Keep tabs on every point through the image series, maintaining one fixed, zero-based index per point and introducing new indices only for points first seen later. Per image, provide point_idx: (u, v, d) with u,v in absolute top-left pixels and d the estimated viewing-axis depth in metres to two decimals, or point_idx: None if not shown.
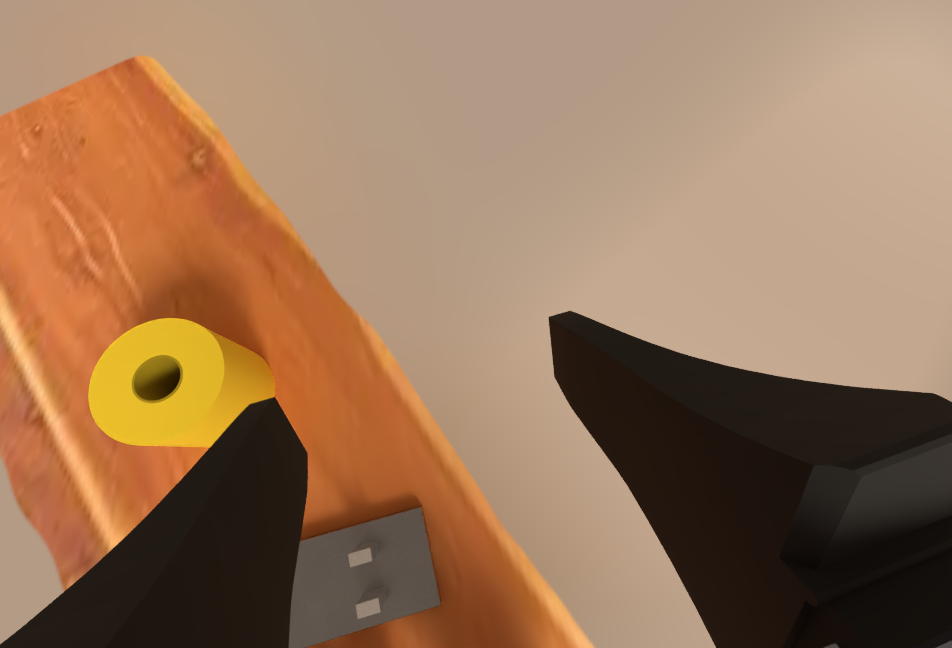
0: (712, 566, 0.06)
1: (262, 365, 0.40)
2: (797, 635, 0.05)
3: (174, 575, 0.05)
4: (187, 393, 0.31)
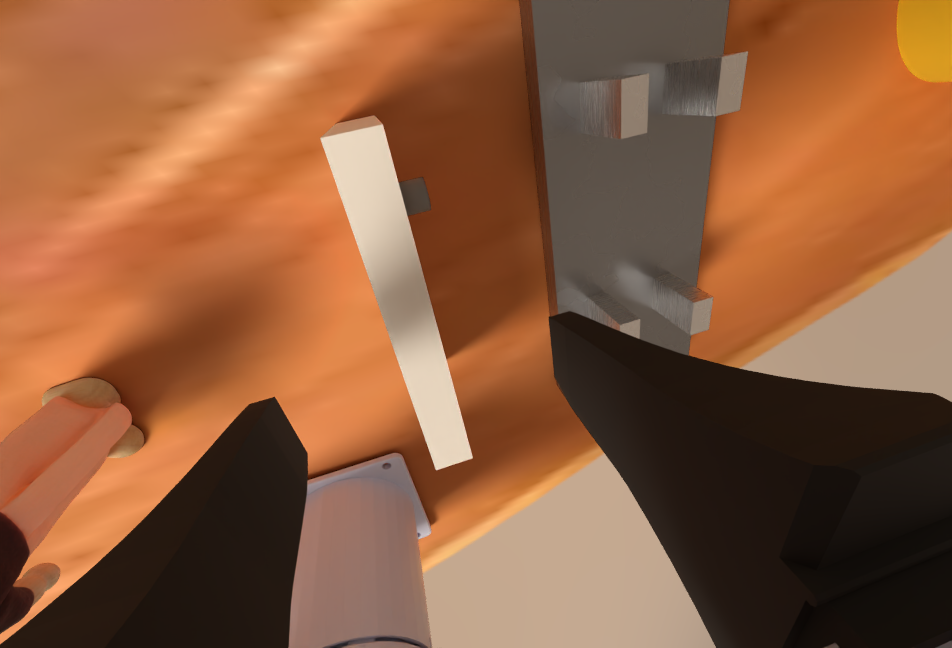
0: (712, 567, 0.06)
1: None
2: (798, 634, 0.05)
3: (174, 575, 0.05)
4: None
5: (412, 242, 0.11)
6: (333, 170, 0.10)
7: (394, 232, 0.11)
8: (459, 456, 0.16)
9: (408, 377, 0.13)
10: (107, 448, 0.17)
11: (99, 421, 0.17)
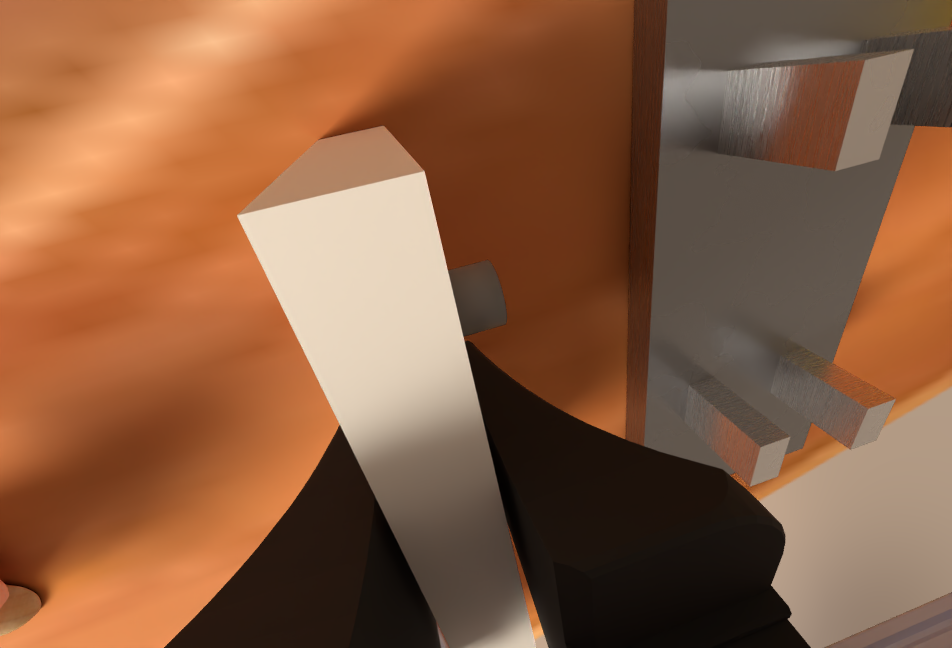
0: (548, 631, 0.06)
1: None
2: None
3: (378, 507, 0.06)
4: None
5: (479, 429, 0.05)
6: (283, 297, 0.04)
7: (440, 416, 0.05)
8: None
9: (452, 632, 0.07)
10: None
11: None
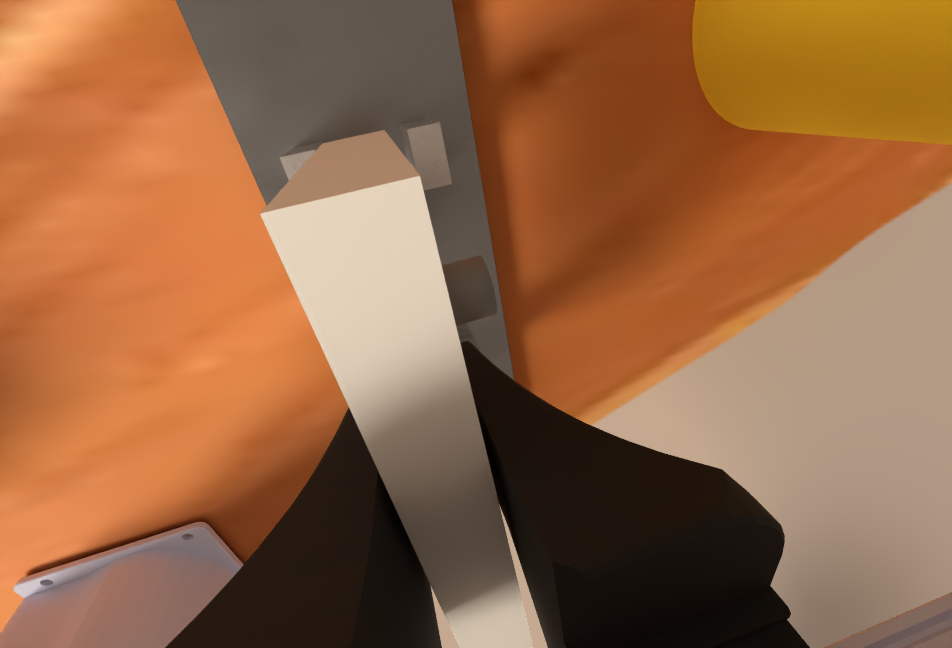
0: (548, 631, 0.06)
1: None
2: None
3: (379, 507, 0.06)
4: None
5: (471, 407, 0.05)
6: (297, 284, 0.04)
7: (435, 394, 0.05)
8: None
9: (447, 601, 0.08)
10: None
11: None
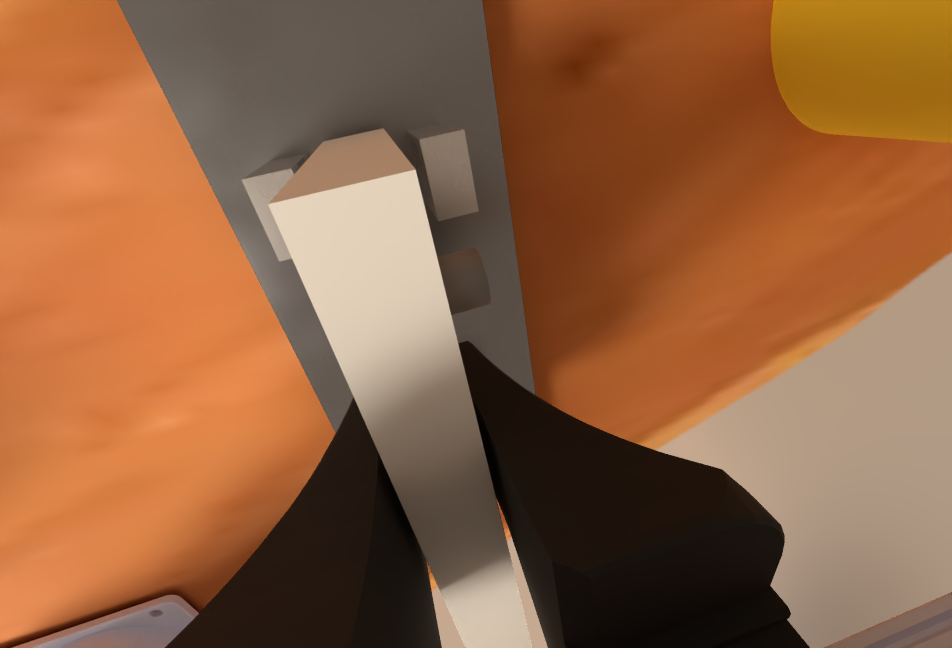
0: (548, 630, 0.06)
1: None
2: None
3: (379, 507, 0.06)
4: None
5: (465, 389, 0.06)
6: (302, 271, 0.04)
7: (431, 376, 0.05)
8: None
9: (444, 580, 0.08)
10: None
11: None
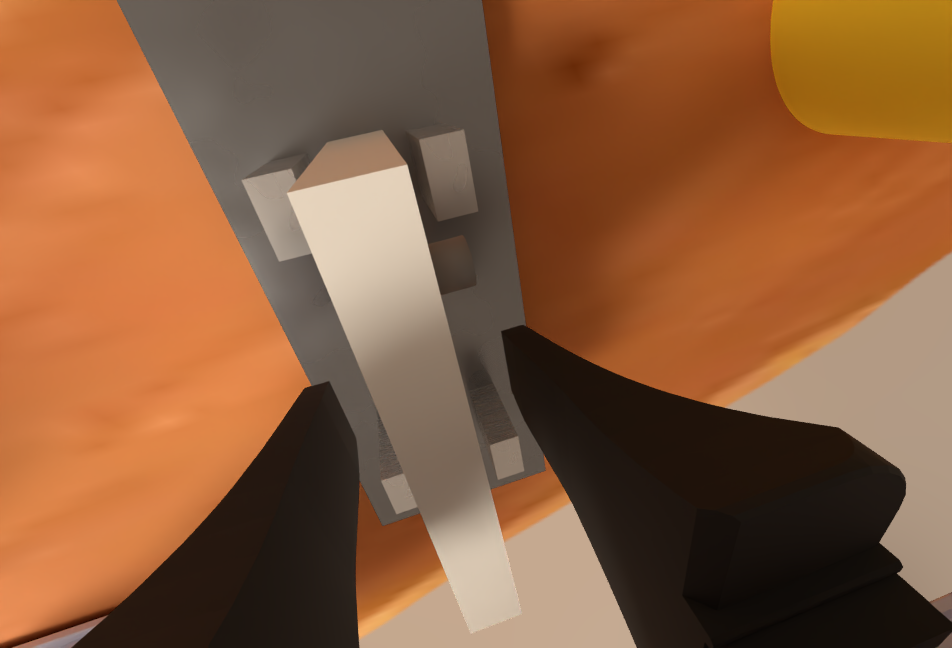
0: (638, 595, 0.06)
1: None
2: None
3: (273, 542, 0.06)
4: None
5: (452, 356, 0.07)
6: (313, 249, 0.05)
7: (423, 343, 0.06)
8: (504, 615, 0.11)
9: (437, 535, 0.09)
10: None
11: None
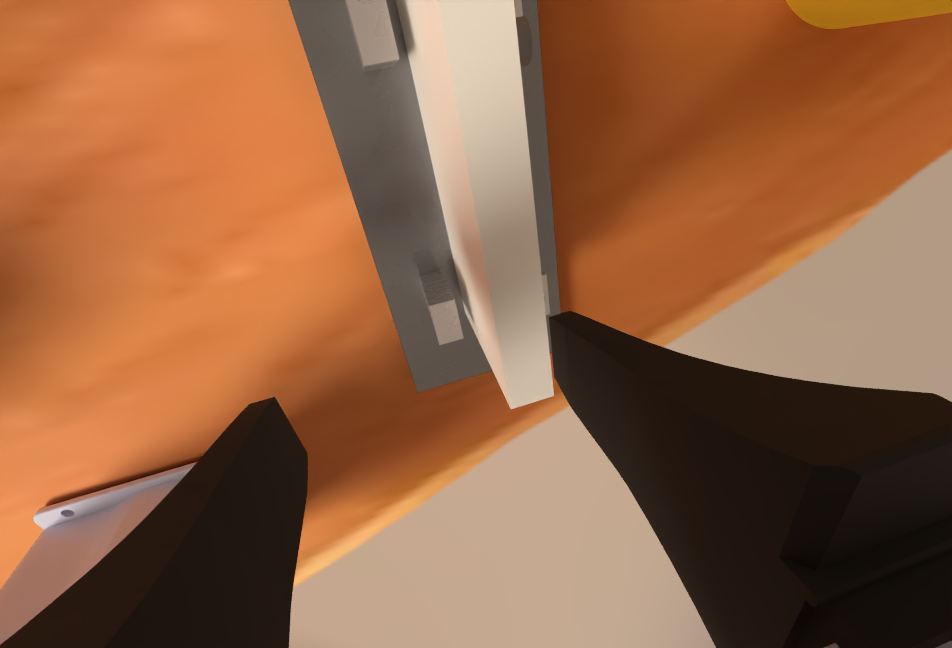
0: (712, 566, 0.06)
1: None
2: (797, 634, 0.05)
3: (174, 575, 0.05)
4: None
5: (519, 84, 0.09)
6: None
7: (499, 66, 0.08)
8: (539, 392, 0.13)
9: (493, 282, 0.11)
10: None
11: None
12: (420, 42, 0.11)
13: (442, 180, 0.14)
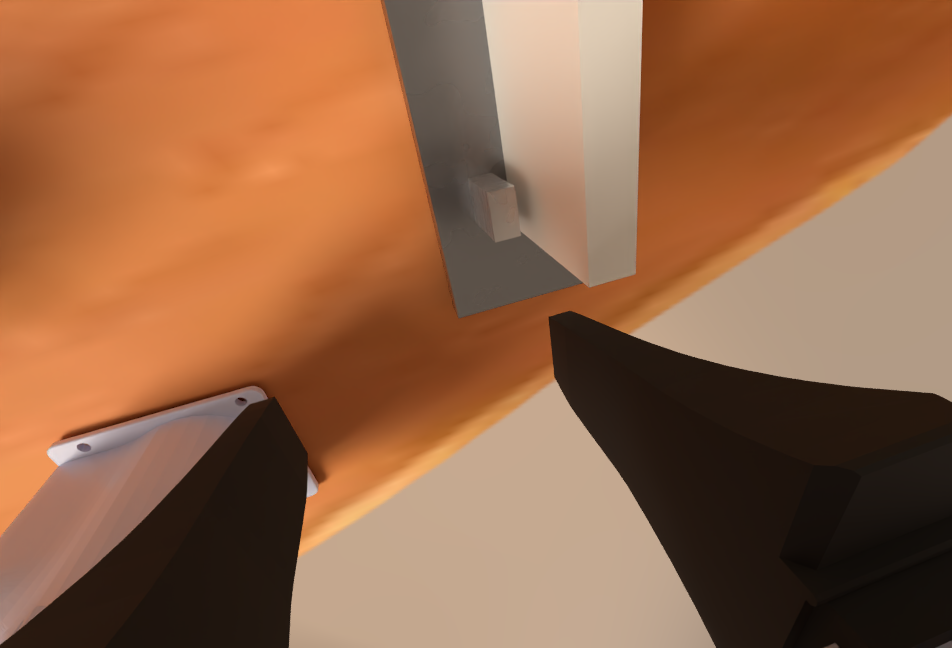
0: (712, 566, 0.06)
1: None
2: (797, 634, 0.05)
3: (174, 575, 0.05)
4: None
5: None
6: None
7: None
8: (621, 268, 0.12)
9: (587, 112, 0.10)
10: None
11: None
12: None
13: (506, 43, 0.13)
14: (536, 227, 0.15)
